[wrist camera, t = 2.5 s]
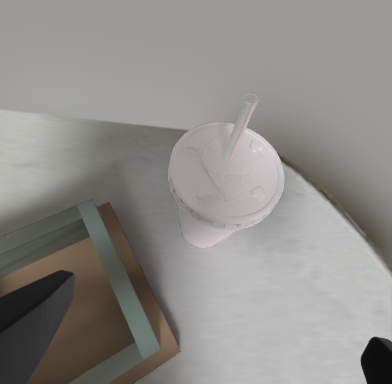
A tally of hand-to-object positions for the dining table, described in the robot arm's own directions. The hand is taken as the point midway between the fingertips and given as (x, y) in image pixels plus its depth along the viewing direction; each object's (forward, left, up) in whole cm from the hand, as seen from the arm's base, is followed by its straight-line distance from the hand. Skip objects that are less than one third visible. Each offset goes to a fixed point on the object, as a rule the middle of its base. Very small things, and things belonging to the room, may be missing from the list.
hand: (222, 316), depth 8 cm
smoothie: (+6, -5, -13) cm, 15 cm away
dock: (+5, +7, -13) cm, 16 cm away
